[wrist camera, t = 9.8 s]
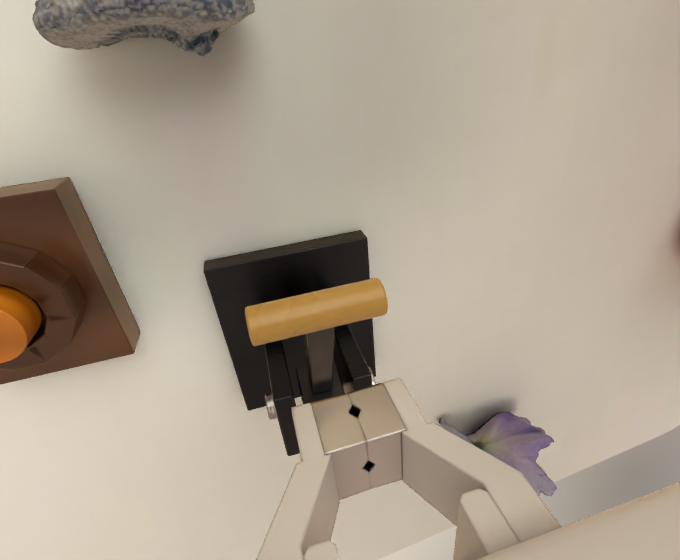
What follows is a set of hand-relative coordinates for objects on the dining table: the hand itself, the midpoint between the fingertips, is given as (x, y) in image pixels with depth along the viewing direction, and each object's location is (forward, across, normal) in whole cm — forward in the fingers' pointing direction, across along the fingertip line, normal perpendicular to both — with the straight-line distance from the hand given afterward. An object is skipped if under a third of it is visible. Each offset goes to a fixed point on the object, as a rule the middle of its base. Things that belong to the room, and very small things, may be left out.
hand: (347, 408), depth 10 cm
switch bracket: (+15, 0, +8) cm, 17 cm away
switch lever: (+8, 0, +4) cm, 9 cm away
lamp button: (+12, +14, +1) cm, 18 cm away
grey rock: (+15, +4, -11) cm, 20 cm away
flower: (+16, -15, +26) cm, 34 cm away
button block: (+15, +14, +1) cm, 21 cm away
